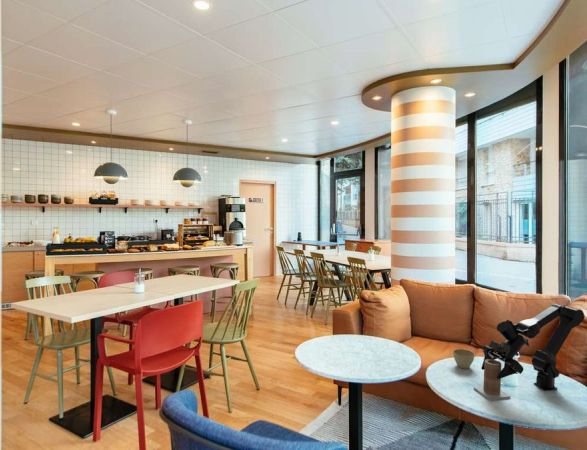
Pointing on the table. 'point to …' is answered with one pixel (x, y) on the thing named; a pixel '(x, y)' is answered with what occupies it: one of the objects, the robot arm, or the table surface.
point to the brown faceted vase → (492, 377)
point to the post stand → (492, 397)
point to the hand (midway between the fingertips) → (489, 373)
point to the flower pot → (463, 357)
